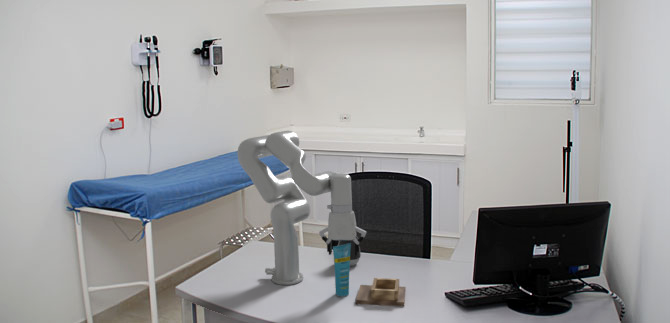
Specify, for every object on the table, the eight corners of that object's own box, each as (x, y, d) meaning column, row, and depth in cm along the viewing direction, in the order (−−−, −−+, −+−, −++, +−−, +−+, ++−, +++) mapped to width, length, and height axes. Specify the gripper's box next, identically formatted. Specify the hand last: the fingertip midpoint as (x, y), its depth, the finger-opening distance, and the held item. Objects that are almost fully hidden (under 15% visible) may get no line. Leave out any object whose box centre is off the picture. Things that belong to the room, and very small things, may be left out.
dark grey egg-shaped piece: (345, 258, 245) (344, 225, 242) (365, 262, 239) (364, 228, 236) (331, 265, 237) (331, 230, 234) (352, 270, 231) (351, 234, 228)
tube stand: (356, 303, 198) (356, 290, 197) (360, 288, 211) (360, 276, 210) (404, 306, 195) (404, 292, 194) (405, 290, 208) (405, 277, 208)
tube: (337, 298, 202) (336, 248, 199) (330, 294, 206) (329, 244, 203) (354, 293, 206) (353, 244, 203) (346, 289, 210) (346, 240, 207)
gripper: (316, 210, 198) (318, 256, 201) (364, 210, 196) (365, 257, 198) (320, 205, 206) (322, 250, 208) (366, 205, 203) (367, 250, 206)
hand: (343, 253), depth 203 cm, fingers open, 9 cm apart
